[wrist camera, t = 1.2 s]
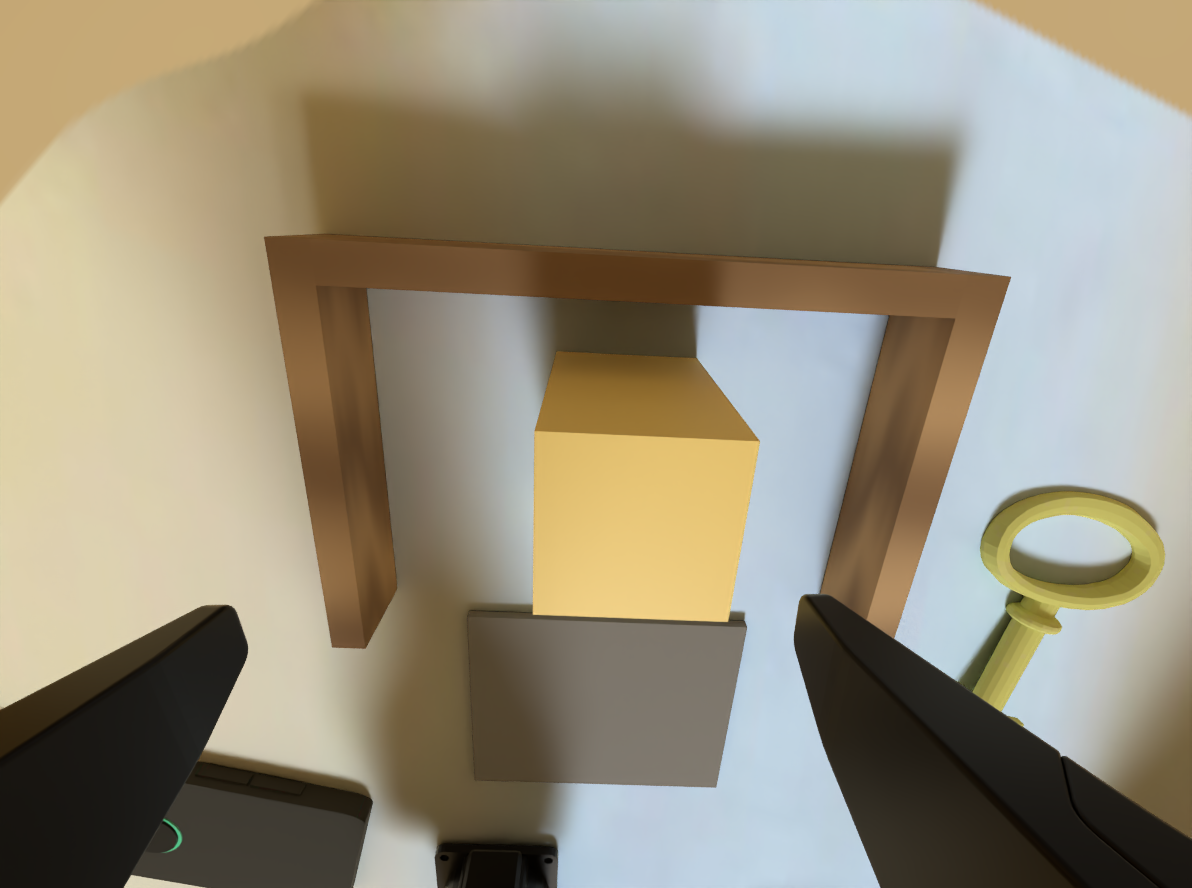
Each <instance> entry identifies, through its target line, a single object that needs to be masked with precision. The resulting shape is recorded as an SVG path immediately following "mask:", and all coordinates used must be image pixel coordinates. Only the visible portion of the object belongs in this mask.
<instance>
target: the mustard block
mask: <svg viewBox="0 0 1192 888" xmlns="http://www.w3.org/2000/svg"><path fill="white" fill-rule="evenodd" d="M759 444H760V441H759V440H758V438H757V437H756V436H755V434H754V433H753V432H752V430H751V429H750V428H749V426H748V425H747V424H746V422H745V421H744V420H743V418H742V417H741V416H740V414H739V413H738V412H737V411H736V409H735V408H734V407H733V405H732V404H731V403H730V401H729V400H728V399H727V397H726V396H725V395H724V393H723V392H722V391H721V389H720V388H719V387H718V386H717V384H716V383H715V382H714V380H713V379H712V378H711V376H710V375H709V374H708V372H707V371H706V370H705V368H704V367H703V366H702V364H701V363H700V362H699V361H698V359H697V358H684V357H664V356H644V355H624V354H603V353H583V352H563V351H557V352H556V356H555V359H554V363H553V367H552V370H551V374H550V377H549V381H548V385H547V388H546V392H545V395H544V399H543V403H542V406H541V410H540V413H539V417H538V421H537V424H536V428H535V437H534V543H533V615H554V616H581V617H607V618H634V619H660V620H687V621H713V622H728V619H729V614H730V608H731V602H732V597H733V591H734V585H735V580H736V574H737V568H738V563H739V557H740V551H741V546H742V540H743V534H744V529H745V523H746V518H747V512H748V506H749V501H750V495H751V489H752V484H753V478H754V472H755V467H756V461H757V455H758V450H759Z"/></svg>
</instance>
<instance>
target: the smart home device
mask: <svg viewBox="0 0 1192 888" xmlns="http://www.w3.org/2000/svg"><path fill="white" fill-rule="evenodd" d="M372 804H373V801H372V800H371V799H370V798H368V797H366V796H364V795H361V794H358V793H354V792H350V791H345V790H340V789H335V788H330V787H325V786H319V785H314V784H309V783H304V782H299V781H294V780H289V779H284V778H279V777H274V776H269V775H264V774H258V773H253V772H248V771H243V770H238V769H233V768H228V767H223V766H218V765H213V764H208V763H203V762H198V761H197V763H196V765H195V767H194V768H193V770H192V772H191V774H190V775H189V777H188V779H187V780H186V782H185V784H184V786H183V787H182V789H181V791H180V792H179V794H178V796H177V797H176V799H175V801H174V803H173V804H172V806H171V808H170V809H169V811H168V813H167V815H166V816H165V818H164V820H163V821H162V823H161V825H160V826H159V828H158V830H157V832H156V833H155V835H154V837H153V838H152V840H151V842H150V844H149V845H148V847H147V849H146V850H145V852H144V854H143V855H142V857H141V859H140V861H139V862H138V864H137V866H136V867H135V869H134V871H133V872H132V874H131V875H135V876H141V877H147V878H153V879H159V880H165V881H170V882H176V883H182V884H188V885H194V886H200V887H206V888H353V885H354V882H355V878H356V874H357V869H358V865H359V860H360V856H361V852H362V847H363V843H364V839H365V834H366V830H367V826H368V821H369V817H370V813H371V808H372Z"/></svg>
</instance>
